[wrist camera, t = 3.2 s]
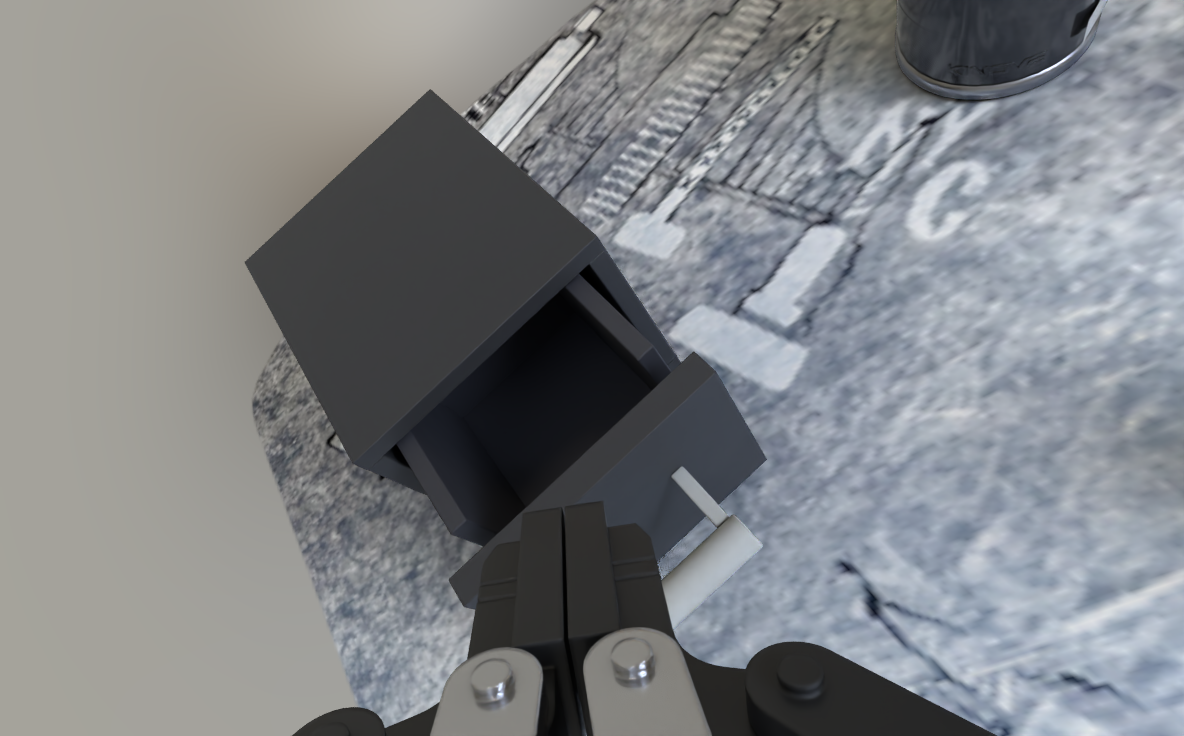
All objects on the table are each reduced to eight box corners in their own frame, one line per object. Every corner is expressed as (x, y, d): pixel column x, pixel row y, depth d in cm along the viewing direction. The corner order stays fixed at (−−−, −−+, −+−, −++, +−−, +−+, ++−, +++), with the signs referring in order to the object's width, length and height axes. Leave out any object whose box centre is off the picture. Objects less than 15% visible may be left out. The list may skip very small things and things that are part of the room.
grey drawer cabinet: (681, 363, 36) (597, 236, 26) (503, 529, 36) (352, 464, 26) (535, 224, 44) (430, 88, 34) (390, 359, 44) (244, 262, 35)
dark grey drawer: (837, 527, 29) (808, 456, 21) (634, 714, 29) (526, 718, 21) (597, 295, 39) (513, 185, 31) (447, 435, 39) (323, 362, 31)
